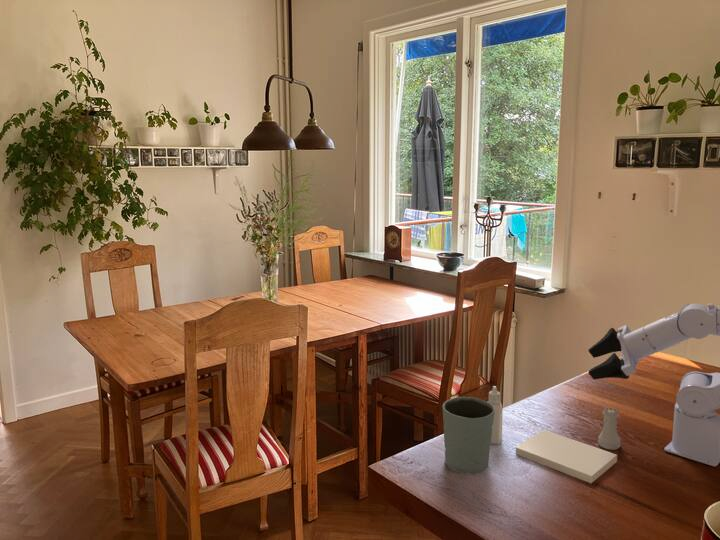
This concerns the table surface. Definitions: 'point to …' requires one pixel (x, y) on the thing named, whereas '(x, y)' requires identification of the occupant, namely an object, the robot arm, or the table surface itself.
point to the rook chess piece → (609, 430)
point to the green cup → (467, 433)
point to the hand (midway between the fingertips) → (591, 364)
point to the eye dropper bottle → (496, 416)
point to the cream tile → (567, 455)
